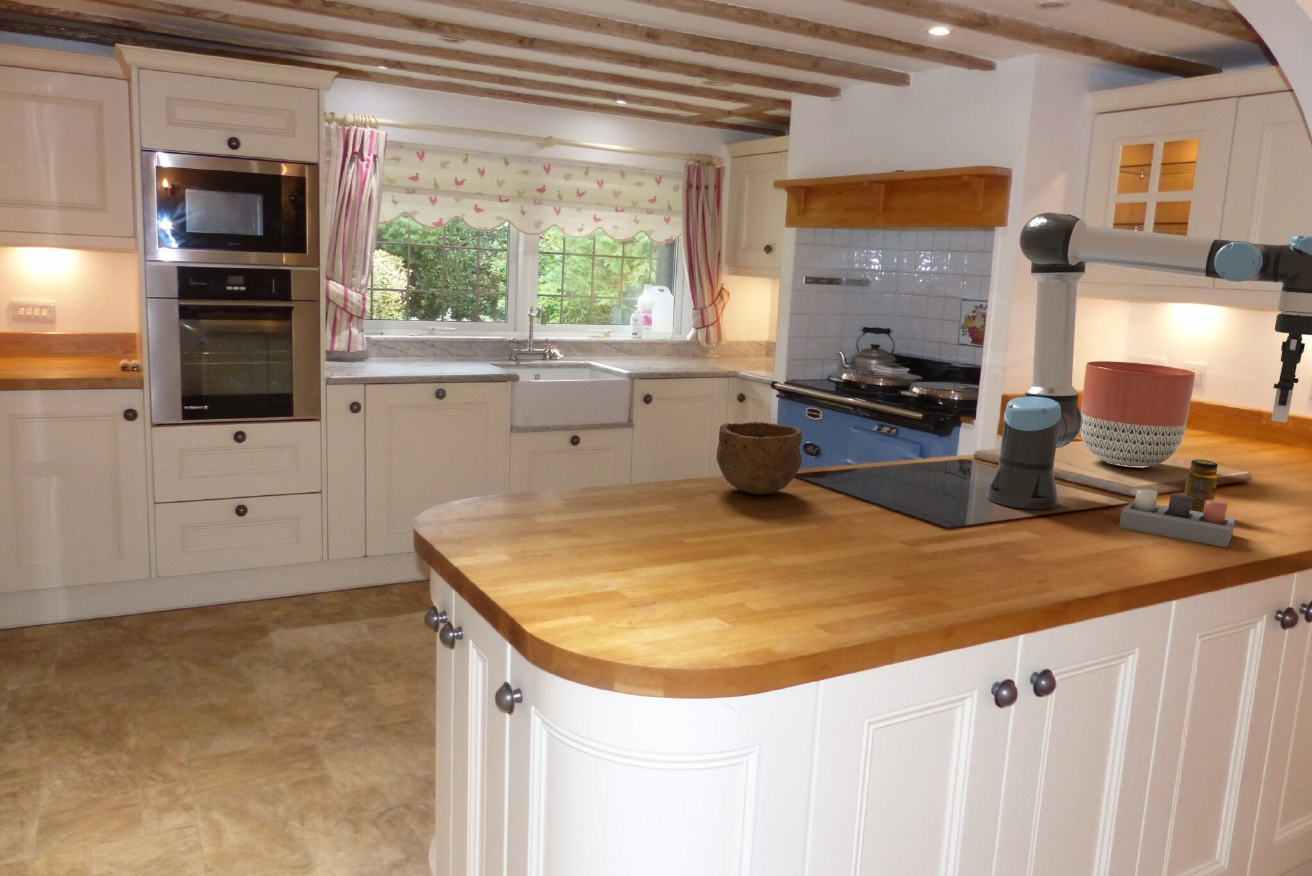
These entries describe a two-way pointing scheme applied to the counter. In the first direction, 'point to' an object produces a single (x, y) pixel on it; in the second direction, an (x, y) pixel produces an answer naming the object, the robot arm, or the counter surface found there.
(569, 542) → the counter surface
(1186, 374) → the planter
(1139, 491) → the white button
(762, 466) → the bowl
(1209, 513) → the red button
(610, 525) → the counter surface
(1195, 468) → the condiment
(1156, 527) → the button board
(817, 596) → the counter surface
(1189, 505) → the black button
